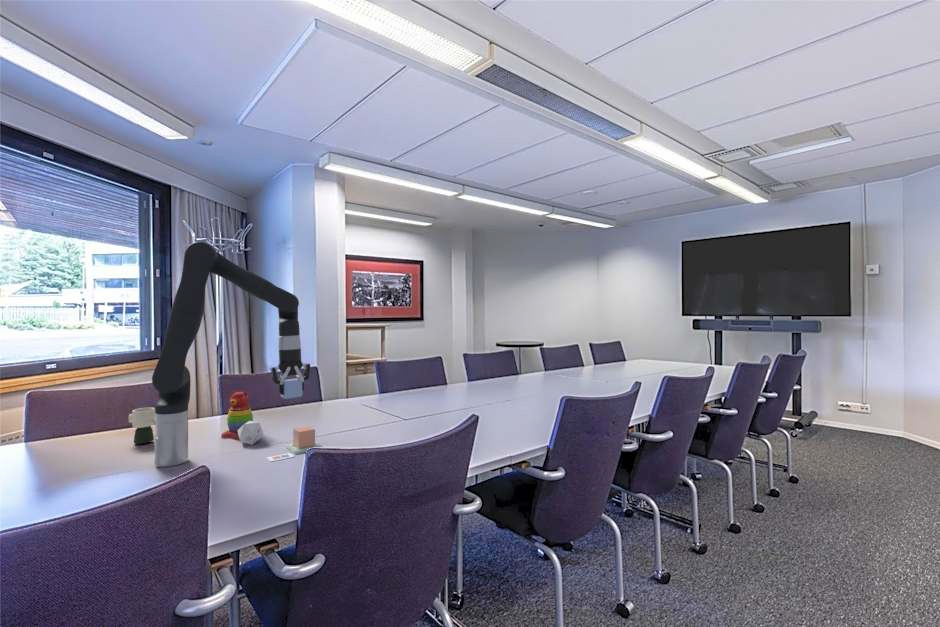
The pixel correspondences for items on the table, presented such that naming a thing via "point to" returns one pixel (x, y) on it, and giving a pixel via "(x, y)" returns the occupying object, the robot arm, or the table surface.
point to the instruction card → (280, 457)
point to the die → (250, 432)
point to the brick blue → (292, 388)
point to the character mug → (143, 424)
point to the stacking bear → (237, 414)
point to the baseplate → (300, 450)
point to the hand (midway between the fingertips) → (291, 393)
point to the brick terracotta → (303, 437)
